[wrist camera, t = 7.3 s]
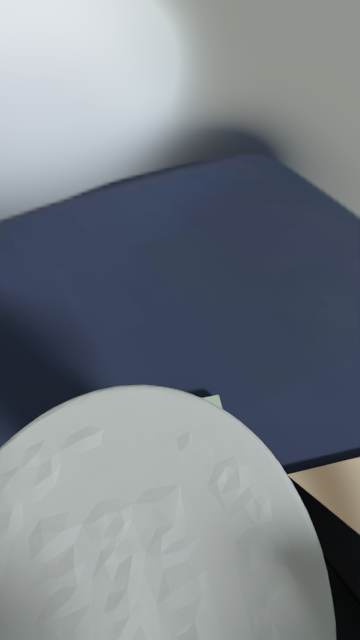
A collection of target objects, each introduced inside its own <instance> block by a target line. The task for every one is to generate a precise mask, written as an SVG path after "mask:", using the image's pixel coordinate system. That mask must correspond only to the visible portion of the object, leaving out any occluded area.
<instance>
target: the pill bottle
mask: <svg viewBox="0 0 360 640" xmlns="http://www.w3.org/2000/svg"><path fill="white" fill-rule="evenodd" d="M0 640H336V621H335V614H334V607H333V600H332V594H331V588H330V583H329V578H328V573H327V569H326V565H325V561H324V557H323V553H322V549H321V546H320V543H319V540H318V537H317V534H316V532H315V529H314V526H313V524H312V521H311V519H310V517H309V514H308V512H307V510H306V508H305V506H304V504H303V502H302V500H301V498H300V496H299V494H298V492H297V490H296V489H295V487H294V485H293V483H292V481H291V480H290V478H289V477H288V475H287V474H286V472H285V471H284V469H283V468H282V466H281V465H280V463H279V462H278V461H277V459H276V458H275V457H274V455H273V454H272V453H271V451H270V450H269V449H268V448H267V447H266V446H265V444H264V443H263V442H262V441H261V440H260V439H259V438H258V437H257V436H256V435H255V434H254V433H253V432H252V431H251V430H250V429H248V428H247V427H246V426H245V425H244V424H243V423H242V422H240V421H239V420H238V419H236V418H235V417H234V416H232V415H231V414H229V413H228V412H226V411H225V410H223V409H221V408H220V407H218V406H216V405H215V404H213V403H211V402H209V401H207V400H206V399H203V398H201V397H198V396H195V395H193V394H190V393H187V392H184V391H181V390H177V389H172V388H167V387H161V386H153V385H127V386H115V387H110V388H105V389H101V390H97V391H93V392H90V393H87V394H84V395H81V396H78V397H76V398H73V399H71V400H68V401H66V402H64V403H62V404H60V405H58V406H56V407H54V408H52V409H50V410H49V411H47V412H45V413H44V414H42V415H41V416H39V417H38V418H36V419H35V420H34V421H32V422H31V423H29V424H28V425H27V426H25V427H24V428H23V429H21V430H20V431H19V432H17V433H16V434H15V435H14V436H13V437H12V438H11V439H9V440H8V441H7V442H6V443H5V444H4V445H3V446H2V447H1V448H0Z"/></svg>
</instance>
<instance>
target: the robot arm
mask: <svg viewBox="0 0 360 640" xmlns="http://www.w3.org/2000/svg"><path fill="white" fill-rule="evenodd" d="M288 477H289V476H288ZM289 478H290V477H289ZM290 480H291V481H292V483H293V485H294V487H295V489H296V490H297V492H298V494H299V496H300V498H301V500H302V502H303V504H304V506H305V508H306V510H307V512H308V514H309V517H310V519H311V521H312V524H313V526H314V529H315V532H316V534H317V537H318V540H319V543H320V546H321V549H322V553H323V557H324V561H325V565H326V569H327V573H328V578H329V583H330V588H331V594H332V600H333V607H334V614H335V621H336V640H360V534H359V533H357V532H356V531H355V530H354V529H352V528H351V527H350V526H349V525H348V524H346V523H345V522H344V521H343V520H342V519H340V518H339V517H338V516H337V515H335V514H334V513H333V512H332V511H331V510H329V509H328V508H327V507H326V506H324V505H323V504H322V503H321V502H320V501H318V500H317V499H316V498H315V497H314V496H312V495H311V494H310V493H309V492H307V491H306V490H305V489H304V488H303V487H301V486H300V485H299V484H298V483H296V482H295V481H294V480H293V479H292V478H290Z"/></svg>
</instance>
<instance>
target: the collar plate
mask: <svg viewBox="0 0 360 640" xmlns="http://www.w3.org/2000/svg"><path fill="white" fill-rule="evenodd" d="M287 475H288V476H289V477H290V478H292V479H293V480H294V481H295V482H296V483H298V484H299V485H300V486H301V487H303V488H304V489H305V490H306V491H307V492H309V493H310V494H311V495H312V496H314V497H315V498H316V499H317V500H318V501H320V502H321V503H322V504H323V505H324V506H326V507H327V508H328V509H329V510H331V511H332V512H333V513H334V514H335V515H337V516H338V517H339V518H340V519H342V520H343V521H344V522H345V523H346V524H348V525H349V526H350V527H351V528H352V529H354V530H355V531H356V532H357V533H359V534H360V457H357V458H353V459H349V460H344V461H340V462H336V463H332V464H328V465H324V466H319V467H315V468H311V469H307V470H303V471H298V472H294V473H290V474H287Z"/></svg>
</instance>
